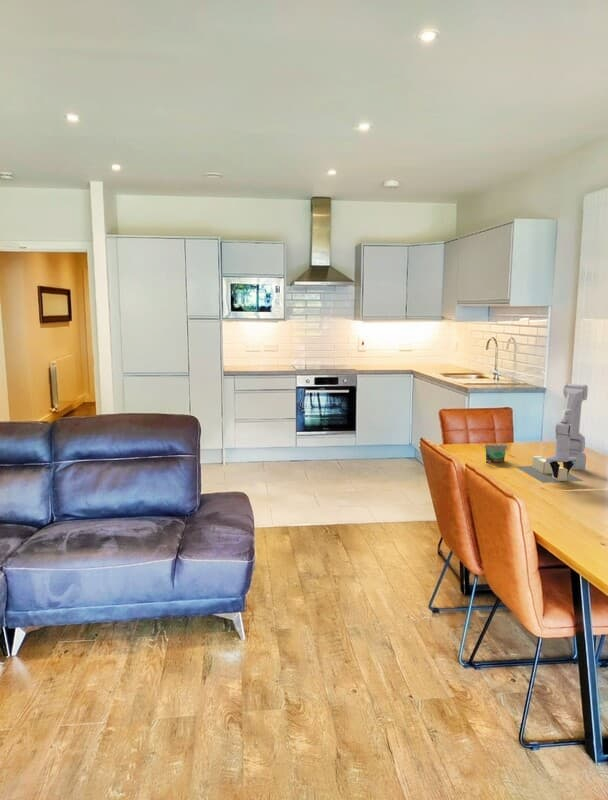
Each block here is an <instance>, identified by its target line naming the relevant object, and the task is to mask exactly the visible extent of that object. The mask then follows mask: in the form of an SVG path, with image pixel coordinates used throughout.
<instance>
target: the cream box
mask: <svg viewBox="0 0 608 800" xmlns="http://www.w3.org/2000/svg"><path fill="white" fill-rule="evenodd" d="M531 464H532V465H531V466H532V467H533V468H535V469H536V470H538V471H540V472H542V473H544V474H547V473H552V468H551V465H550V463H547V462H546V457H543V456H542V455H539V456H538V455H537V456H535V455H534V456H532V462H531Z"/></svg>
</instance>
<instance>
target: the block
mask: <svg viewBox="0 0 608 800" xmlns="http://www.w3.org/2000/svg"><path fill="white" fill-rule="evenodd" d="M567 471H568V469H566V468H563V466H560V467H559V470H558V477H557V478H555V477H554V476H553V473H552V478H554V479H555V480H557V481H567Z"/></svg>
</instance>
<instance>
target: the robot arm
mask: <svg viewBox="0 0 608 800" xmlns="http://www.w3.org/2000/svg"><path fill="white" fill-rule="evenodd" d="M588 387H589V386H588V385H587V384H580V383H579V384H576V383H568V382H567V383H565V384H564V386H563V395H564V398H565V401H566V402H565V408H564V409H563V410H562V411H561V413H560V418H559V420H558V423H556V425H555V428H554V429H555V432H554V433H555V439H556V440H555V451H554V452H555V453H554V456H551V457H550V456H549V457H545V459H546V462H547V463H550V465H551V468H552V471H553V476H554V477H555V478H557V477H558V470H559V467H561V465H560V463H562V467H563V468H566V469H568V471H567V476H568V473H569V474H570V471H571V470H572V471H574V470H575V471H576V470H582V471H583V472H586V471H587V469H586V463H587V455H586V453H585V452H584V451H585V448H586V437H585V436H584V435H583V434H582V433H580V429H581V428H580V426H581V425H580V424H581V414H582V404H583V401H587V399H588V392H589V388H588Z"/></svg>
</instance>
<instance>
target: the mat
mask: <svg viewBox="0 0 608 800" xmlns="http://www.w3.org/2000/svg"><path fill="white" fill-rule="evenodd" d="M515 468H517V469H518V470H520V471H522V472H524V473H526V474H527V475H529V476H530V477H533V478H534V479H535V480H537V481H539V482H541V483H543V484H545V483H568V482H569V483H570V482H571V483H572V482H584V480H583V479H581V478H579V477H577V476H575V475H573V474H571V473H570V472H569V473H568V476H567V481H557V480H555V479H554V478H552V473H553V471H552V473H547V474H544V473H542V472H540V471H538V470H536V469H535V468H533V467H532V465H522V466H521V465H520V466H519V465H518V466H515Z"/></svg>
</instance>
